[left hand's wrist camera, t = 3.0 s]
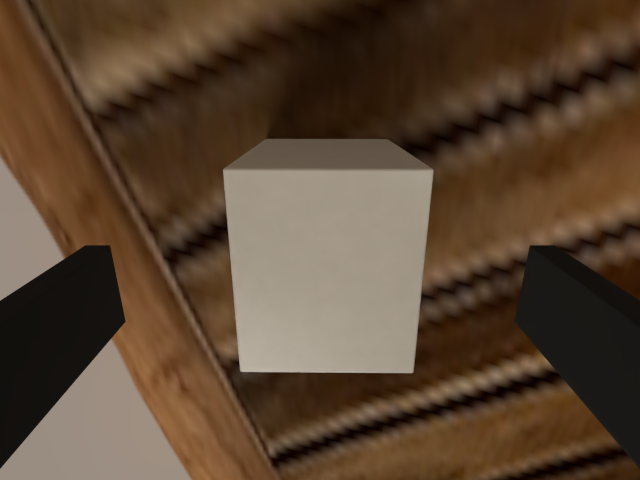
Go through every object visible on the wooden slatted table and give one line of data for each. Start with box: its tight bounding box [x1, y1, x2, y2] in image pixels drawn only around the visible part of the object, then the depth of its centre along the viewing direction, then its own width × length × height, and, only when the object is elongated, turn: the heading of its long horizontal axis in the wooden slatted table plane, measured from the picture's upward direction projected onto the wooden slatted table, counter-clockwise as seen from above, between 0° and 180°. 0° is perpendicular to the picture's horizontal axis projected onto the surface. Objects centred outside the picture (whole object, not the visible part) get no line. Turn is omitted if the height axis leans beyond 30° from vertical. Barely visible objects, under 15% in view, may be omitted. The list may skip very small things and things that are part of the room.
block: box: [223, 139, 434, 373], centre depth 17 cm, size 8×6×9 cm
